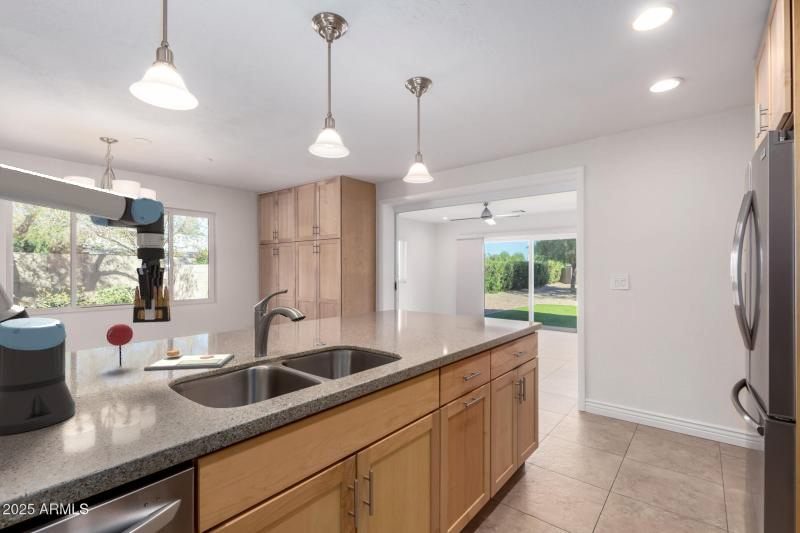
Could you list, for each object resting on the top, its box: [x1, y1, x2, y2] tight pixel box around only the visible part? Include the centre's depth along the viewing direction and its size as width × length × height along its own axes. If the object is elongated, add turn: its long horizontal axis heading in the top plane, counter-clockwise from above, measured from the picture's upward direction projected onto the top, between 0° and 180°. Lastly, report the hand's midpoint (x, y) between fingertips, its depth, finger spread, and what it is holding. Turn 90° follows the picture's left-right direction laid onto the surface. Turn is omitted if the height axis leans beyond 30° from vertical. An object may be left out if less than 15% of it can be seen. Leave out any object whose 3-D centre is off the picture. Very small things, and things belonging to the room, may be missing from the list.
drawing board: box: [143, 353, 235, 371], centre depth 138 cm, size 16×25×1 cm, turn 98°
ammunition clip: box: [132, 285, 172, 324], centre depth 122 cm, size 11×2×12 cm, turn 98°
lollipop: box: [106, 323, 134, 366], centre depth 135 cm, size 8×8×15 cm
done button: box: [166, 349, 180, 356], centre depth 142 cm, size 4×4×1 cm
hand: (152, 318), depth 123 cm, fingers closed on ammunition clip, 2 cm apart
